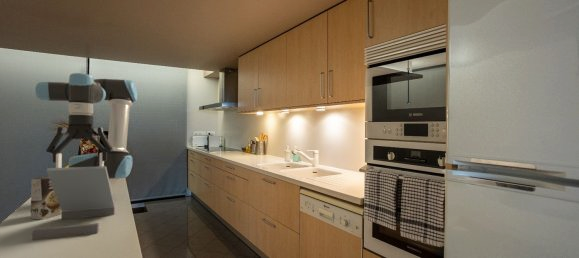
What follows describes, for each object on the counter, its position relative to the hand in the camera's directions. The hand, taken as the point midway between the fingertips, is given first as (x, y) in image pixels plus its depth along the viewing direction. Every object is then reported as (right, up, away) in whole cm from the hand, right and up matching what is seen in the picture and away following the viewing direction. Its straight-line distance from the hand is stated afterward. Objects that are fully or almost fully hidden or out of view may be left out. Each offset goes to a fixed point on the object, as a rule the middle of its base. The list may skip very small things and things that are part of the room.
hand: (80, 170), depth 104 cm
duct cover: (-1, -8, +2) cm, 8 cm away
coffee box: (-21, -20, +9) cm, 31 cm away
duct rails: (0, -20, -1) cm, 20 cm away
